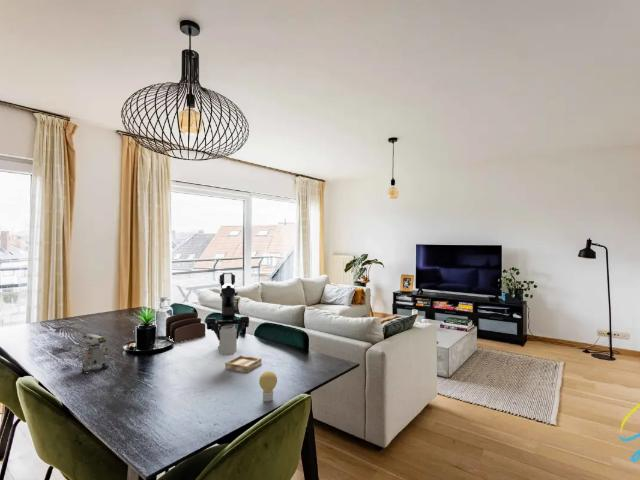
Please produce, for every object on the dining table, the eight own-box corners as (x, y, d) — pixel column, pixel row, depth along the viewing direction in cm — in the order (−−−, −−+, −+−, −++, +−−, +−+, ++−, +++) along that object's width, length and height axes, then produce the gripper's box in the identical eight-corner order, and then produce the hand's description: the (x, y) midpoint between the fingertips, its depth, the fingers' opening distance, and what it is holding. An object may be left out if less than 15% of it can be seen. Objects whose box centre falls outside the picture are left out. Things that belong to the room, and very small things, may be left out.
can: (238, 351, 156) (239, 324, 156) (232, 356, 149) (233, 329, 149) (223, 350, 157) (223, 324, 157) (216, 355, 149) (216, 328, 149)
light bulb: (259, 396, 125) (260, 368, 125) (277, 395, 126) (277, 368, 126) (258, 404, 119) (258, 375, 119) (276, 404, 119) (276, 375, 120)
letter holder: (165, 340, 195) (165, 315, 195) (195, 333, 211) (196, 310, 211) (174, 343, 189) (175, 318, 189) (205, 336, 205) (206, 312, 205)
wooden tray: (225, 368, 152) (225, 363, 152) (240, 360, 163) (240, 355, 163) (247, 372, 148) (247, 366, 148) (261, 363, 159) (261, 358, 159)
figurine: (99, 363, 157) (100, 330, 157) (109, 369, 149) (110, 335, 150) (76, 369, 149) (77, 334, 150) (85, 375, 142) (86, 339, 142)
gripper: (207, 300, 154) (205, 331, 143) (249, 299, 159) (250, 328, 149) (207, 314, 161) (206, 344, 151) (247, 312, 167) (249, 341, 156)
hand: (228, 339), depth 151 cm, fingers closed on can, 7 cm apart
